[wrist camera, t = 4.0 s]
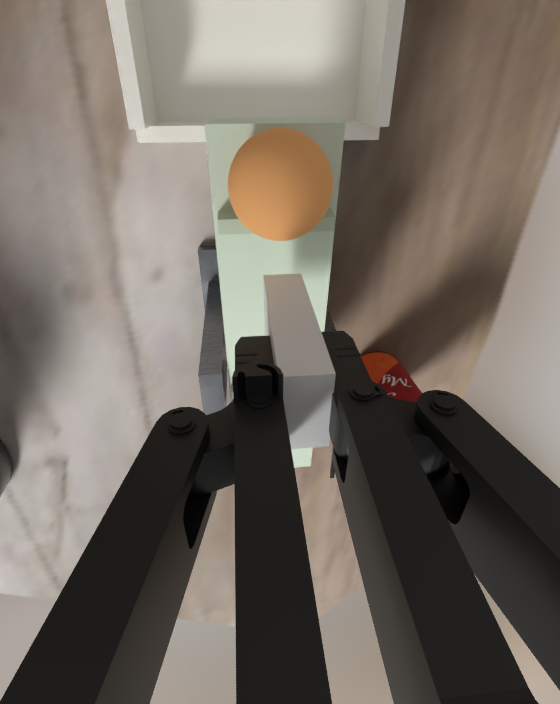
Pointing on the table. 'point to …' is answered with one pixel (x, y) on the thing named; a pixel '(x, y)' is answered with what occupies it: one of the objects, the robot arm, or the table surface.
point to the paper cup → (391, 376)
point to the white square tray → (255, 62)
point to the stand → (216, 335)
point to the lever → (262, 254)
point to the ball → (280, 184)
